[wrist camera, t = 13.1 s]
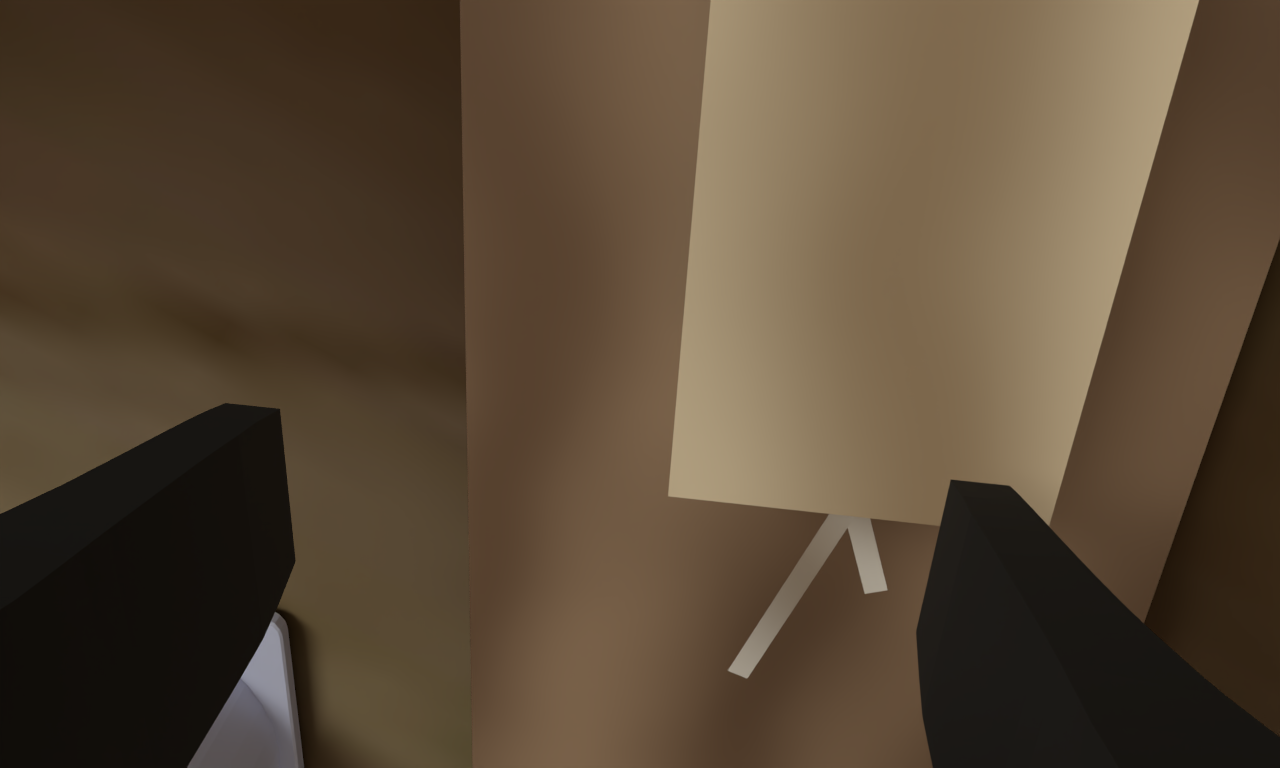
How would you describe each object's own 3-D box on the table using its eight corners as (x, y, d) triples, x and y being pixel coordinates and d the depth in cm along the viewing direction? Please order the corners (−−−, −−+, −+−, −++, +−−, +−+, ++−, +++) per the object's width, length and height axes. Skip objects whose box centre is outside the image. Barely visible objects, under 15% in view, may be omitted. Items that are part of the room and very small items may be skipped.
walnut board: (488, 840, 29) (474, 892, 27) (479, -406, 16) (452, -421, 15) (1011, 909, 28) (1023, 966, 27) (1430, -349, 15) (1491, -359, 14)
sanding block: (692, 333, 20) (667, 496, 15) (746, -265, 15) (734, -277, 11) (985, 362, 19) (1045, 537, 15) (1124, -240, 15) (1268, -241, 11)
